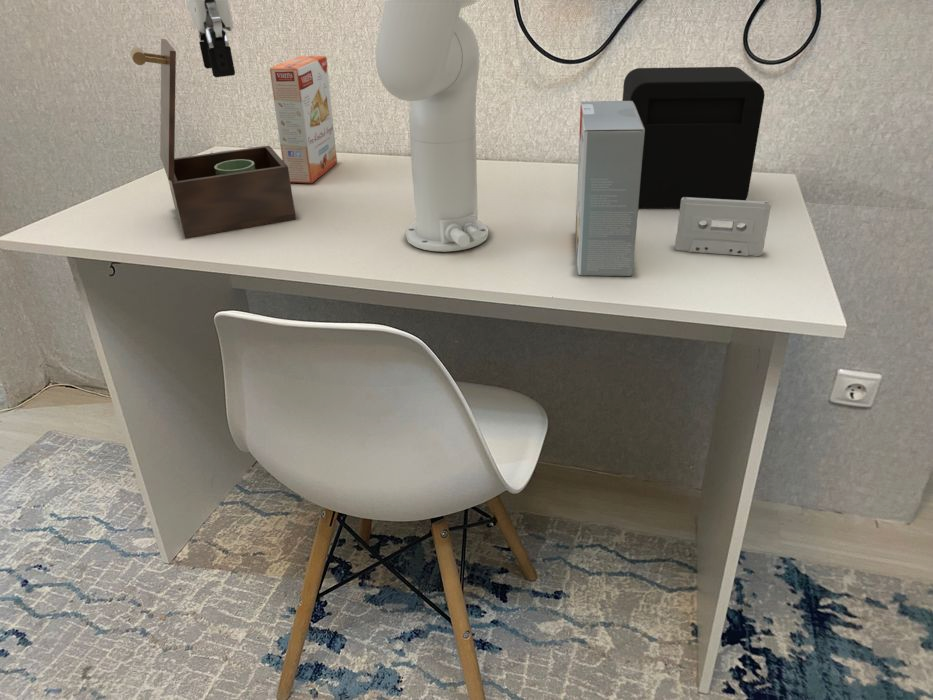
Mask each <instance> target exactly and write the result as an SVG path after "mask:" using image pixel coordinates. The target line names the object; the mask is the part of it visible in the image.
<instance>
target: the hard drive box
mask: <svg viewBox="0 0 933 700" xmlns="http://www.w3.org/2000/svg"><path fill="white" fill-rule="evenodd" d="M578 131H579V133H578V134H579V137H578V156H577V157H578V158H577V159H578V161H577V180H576V181H577V182H576V206H575V207H576V208H575V247H576V265H577V266H576V267H577V275H578V276H602V277H603V276H608V277H609V276H611V277H613V276H614V277H616V276H617V277H631V276H633V270H634V261H635V249H636V240H637V239H636V237H637V226H638V215H639V208H638V204H639V192H640V180H641V168H642V156H643V146H644V135H645V129H644V126H643V124H642V121H641V119H640V116H639V114H638V111H637V109H636V106H635V104H634V103H633V101H622V100H592V101H590V100H589V101H580V106H579V129H578Z"/></svg>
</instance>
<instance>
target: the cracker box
mask: <svg viewBox="0 0 933 700" xmlns="http://www.w3.org/2000/svg"><path fill="white" fill-rule="evenodd" d="M328 70H329V69H328V59H327V56H325V55H298V56H297V57H294V58H291V59H289V60H285V61H283V62H281V63H279V64H275V65H273V66H271V67H269V74H270V82H271V83H270V84H271V90H272V97H273V104H274V110H275V118H276V124H277V133H278V140H279V145H280V146H279V147H280V153H281V159H282V160H283V162H284V163H285V164H286V165H287V166H288V170H289V177H290V183H295V184H296V183H297V184H313V183H314V182H315V181H317V180H318V179H319V178H320V177H322V176H323V175H324V174H325V173H327V172H328V171H329V170H331V169H332V168H333V167H334V166H336V165H337V164H338V157H337V150H336V138H335V128H334V119H333V110H332V100H331V89H330V81H329V80H330V79H329V71H328Z"/></svg>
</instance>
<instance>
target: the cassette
mask: <svg viewBox="0 0 933 700" xmlns="http://www.w3.org/2000/svg"><path fill="white" fill-rule="evenodd" d="M771 210H772V205H771V202H770V201H763V200H761V201H760V200H746V201H745V200H727V199H709V198H691V197H683V198H682V199H681V204H680V208H679V211H678V212H679V213H678V221H677V229H676V235H675V242H674V248H675V250H676V251H683V252H686V251H687V252H690V253H702V254H703V253H704V254H715V255H730V256H731V255H732V256H733V255H734V256H744V257H749V256H755V257H760V256H761V257H762V255H763V254H764V249H765V248H764V247H765V242H766V236H767V231H768V225H769V221H770V220H769V219H770V213H771ZM704 221H705V222H706V223H705V224H701V223H700V222H704ZM713 221H718V222H731V223H732V224H731V225H732V226H731V227H724V226H712V222H713ZM739 224H744V226H740V227H739V226H738V225H739Z"/></svg>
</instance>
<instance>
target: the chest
mask: <svg viewBox="0 0 933 700" xmlns="http://www.w3.org/2000/svg"><path fill="white" fill-rule="evenodd" d="M231 150H232V151H227V150H224V151H225V152H219V151H217V152H218V153H215V152H213V153H203V154H196V155H189V156H181V157H174V181H170V180H168V179H167V180H168V184H169V189H170V193H171V197H172V201H173V206H174V210H175V213H176V216H177V220H178V222H179V225H180V228H181V231H182V234H183V237H184V239H189V238H193V237H194V238H195V237H200V236H206V235H211V234H219V233H223V232H230V231H235V230H241V229H246V228H253V227H259V226H264V225H269V224H277V223H282V222H288V221H294V220H296V219H297V215H296V210H295V203H294V196H293V191H292V185H291V183H292V182H290V177H289V170H288V166H287V165H286V164H285V163H284V162H283V160H282V157H280V156H279V155H278V153H277V152H276V151H275V150H274V149H273V148H272V147H271V145H263V146H255V147H247V148H242V149H231ZM240 159H244V160H251V161H253V162H254V163H255V168H256V170H251V171H244V172H237V173H230V174H223V175H217V176H216V174H215V169H214V166H215V165H216V164H219V163H221V162H225V161H229V160H240Z"/></svg>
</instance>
